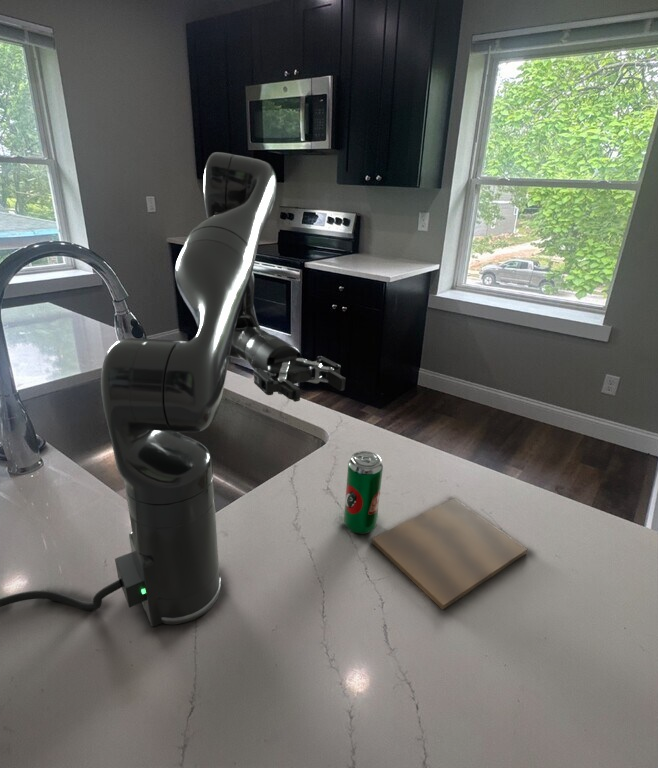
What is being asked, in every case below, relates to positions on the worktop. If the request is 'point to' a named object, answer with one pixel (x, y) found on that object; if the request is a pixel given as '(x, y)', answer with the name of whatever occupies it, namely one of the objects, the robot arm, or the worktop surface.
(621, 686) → the worktop surface
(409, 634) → the worktop surface
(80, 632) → the worktop surface
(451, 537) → the wooden board
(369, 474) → the soda can
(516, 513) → the worktop surface
